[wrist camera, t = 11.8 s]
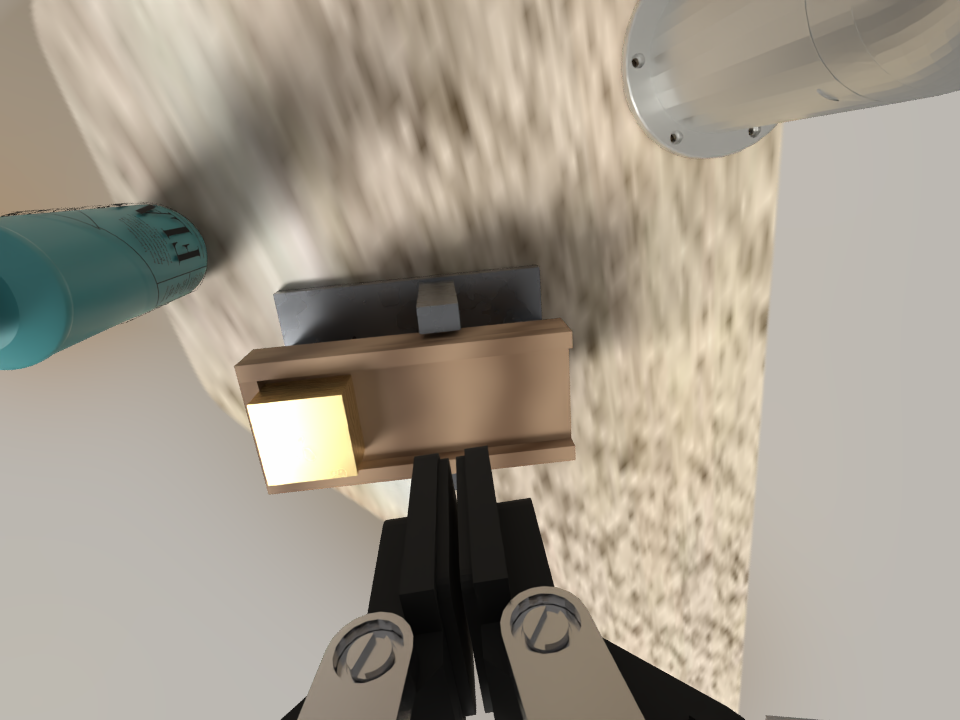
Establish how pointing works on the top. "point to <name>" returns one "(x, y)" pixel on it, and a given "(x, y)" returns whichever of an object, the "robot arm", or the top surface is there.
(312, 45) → the top surface
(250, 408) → the brass block
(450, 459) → the beam
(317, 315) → the beam stand
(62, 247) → the beverage bottle
